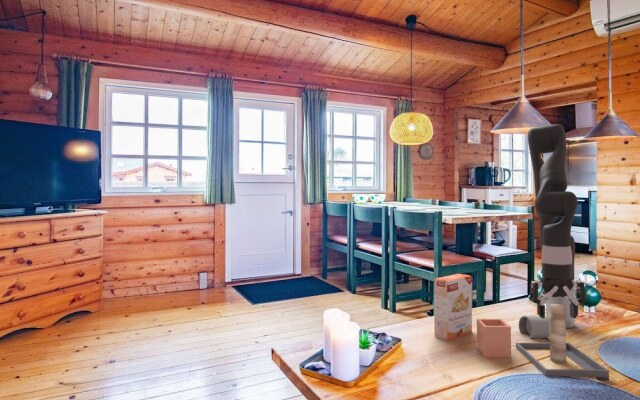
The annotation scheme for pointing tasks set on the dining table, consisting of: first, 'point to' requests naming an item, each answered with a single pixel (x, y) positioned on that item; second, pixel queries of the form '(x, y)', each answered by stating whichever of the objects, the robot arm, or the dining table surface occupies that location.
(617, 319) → the dining table surface
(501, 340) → the pink square planter
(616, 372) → the dining table surface
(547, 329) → the ceramic mug
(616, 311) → the dining table surface
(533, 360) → the rectangular frame
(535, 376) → the dining table surface
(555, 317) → the dowel
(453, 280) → the cracker box
